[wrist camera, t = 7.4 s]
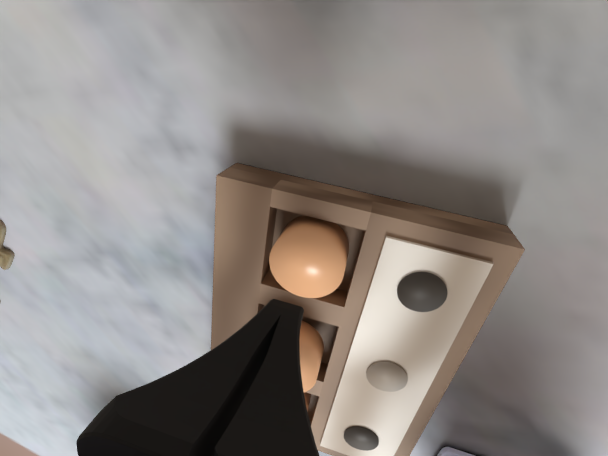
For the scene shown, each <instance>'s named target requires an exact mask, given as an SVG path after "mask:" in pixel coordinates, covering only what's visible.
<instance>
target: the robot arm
mask: <svg viewBox="0 0 608 456" xmlns="http://www.w3.org/2000/svg"><path fill="white" fill-rule="evenodd" d="M303 313H304V309H303V308H302V307H301V306H297V305H294V304H291V303H287V302H284V301H280V300H277V299H272V300H270V301H269V302H268V303H267V305H266V306H265V307H264V308H263V309H262V310H261V311H260V312H259V313H257V314H256V315H255V316H254V317H253V318H252V319H251V320H250V321H249V322H247V323H246V324H245V325H244V326H243V327H242V328H240V329H239V330H238V331H237V332H235V333H234V334H233V335H232V336H230V337H229V338H228V339H226V340H225V341H224V342H222V343H221V344H220V345H218V346H217V347H215V348H214V349H212V350H211V351H209V352H208V353H206V354H204V355H203V356H201V357H200V358H198V359H196V360H194V361H193V362H191V363H189V364H188V365H186V366H184V367H182V368H180V369H178V370H176V371H174V372H172V373H170V374H168V375H166V376H164V377H162V378H160V379H157V380H155V381H153V382H151V383H149V384H146V385H144V386H141V387H139V388H136V389H133V390H131V391H128V392H126V393H123V394H120V395H118V396H116V397H115V398H114V399H113V400H112V401H111V402H110V403H109V404H108V405H106V406H105V407H104V408H103V409H102V410H101V411H100V413H99V414H98V415H97V416H96V417H95V418H94V419H93V421H92V422H91V423H90V424H89V425H88V426H87V428H86V429H85V430H84V431H83V432H82V434H81V435H80V436H79V438H78V440H77V452H78V455H79V456H319V453H318V450H317V447H316V443H315V440H314V436H313V433H312V429H311V425H310V420H309V416H308V412H307V407H306V403H305V397H304V391H303V384H302V377H301V367H300V327H301V323H302V318H303ZM437 456H475V455H472V454H469V453H466V452H463V451H460V450H457V449H454V448H451V447H444V448H442V449H441V451H440V452H439V454H438V455H437Z"/></svg>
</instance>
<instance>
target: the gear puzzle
mask: <svg viewBox="0 0 608 456" xmlns="http://www.w3.org/2000/svg"><path fill="white" fill-rule="evenodd" d="M5 235H6V226H5V224H4V223H3V222H2V221H1V220H0V267H1V268H2V269H4V270H6V269H8V268H10V266H11V264H12V262H13V259H14V253H13V252H12V251H10V250H8V249H5V248H4V246H3V242H4V239H5ZM0 302H1V301H0Z"/></svg>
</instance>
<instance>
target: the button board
mask: <svg viewBox="0 0 608 456" xmlns="http://www.w3.org/2000/svg"><path fill="white" fill-rule="evenodd" d="M303 215H305V216H309V217H313V218H317V219H321V220H325V221H329V222H333V223H336V224H338V225H339V226H340V227H341V229H342V230H343V231H344V233H345V235H346V237H347V239H348V243H349V254H348V259H347V263H346V268H345V272H344V277H343V280H342V282H341V284H340V285H339V287H338V288H337V289H336V290H335V291H333V292H332V293H330V294H328V295H326V296H323V297H319V298H305V297H300V296H297V295H295V294H292V293H291V292H289V291H287V290H286V289H284V288H283V287H282V286H281V285H280V284H279V283H278V282H277V281H276V279H275V278H274V276H273V274H272V272H271V269H270V265H269V256H270V252H271V249H272V247H273V246H274V244H275V243H276V241H277V240H278V238H279V237H280V235H281V233H282V232H283V230H284V229H285V227H286V226H287V225H288V224H289V223H290V222H291V221H292V220H294V219H295V218H297V217H300V216H303ZM524 250H525V249H524V248H523V246H522V245H521V243H520V242H519V241H518V239H517V238H516V237H515V235H514V234H513V233H512V231H511V230H510V228H509V227H508V226H506V225H501V224H497V223H493V222H488V221H484V220H480V219H476V218H471V217H467V216H463V215H458V214H454V213H450V212H446V211H441V210H437V209H433V208H428V207H424V206H420V205H415V204H411V203H407V202H403V201H398V200H394V199H390V198H385V197H381V196H377V195H373V194H368V193H364V192H360V191H355V190H351V189H347V188H342V187H338V186H334V185H330V184H325V183H321V182H317V181H312V180H308V179H304V178H300V177H295V176H291V175H287V174H282V173H278V172H274V171H269V170H265V169H261V168H257V167H252V166H248V165H244V164H239V163H236V164H234V165H232V166H231V167H229V168H228V169H226V170H224V171H223V172H221V173H219V174H218V175H217V177H216V208H215V239H214V271H213V302H212V333H211V350H212V349H214V348H215V347H217V346H218V345H220V344H221V343H222V342H224V341H225V340H226V339H228V338H229V337H230V336H232V335H233V334H234V333H235V332H237V331H238V330H239V329H240V328H242V327H243V326H244V325H245V324H246V323H247V322H249V321H250V320H251V319H252V318H253V317H254V316H255V315H256V314H257V313H259V312H260V311H261V310H262V309H263V308H264V307H265V306H266V305H267V303H268V302H269V301H270V300H272V299H277V300H280V301H284V302H287V303H291V304H294V305H297V306H301V307H302V308H303V309H304V313H303V318H302V321H305V322H306V323H308V324H310V325H311V326H313V327H314V328H315V329H316V330H317V331H318V333H319V334H320V335H321V337H322V340H323V343H324V351H323V355H322V360H321V364H320V368H319V372H318V376H317V381H316V383H315V385H314V386H313V387H312V388H311V389H310V390H309V391H307V393H310V394H311V399H310V404H309V408H308V416H309V420H310V425H311V429H312V433H313V436H314V440H315V443H316V447H317V450H318V451H321V452H324V453H327V454H330V455H332V456H409V455H410V454H411V452H412V450H413V448H414V447H415V445H416V443H417V441H418V439H419V438H420V436H421V434H422V432H423V430H424V429H425V427H426V425H427V423H428V422H429V420H430V418H431V416H432V414H433V413H434V411H435V409H436V407H437V406H438V404H439V402H440V400H441V398H442V397H443V395H444V393H445V391H446V389H447V388H448V386H449V384H450V382H451V381H452V379H453V377H454V375H455V373H456V372H457V370H458V368H459V366H460V364H461V363H462V361H463V359H464V357H465V356H466V354H467V352H468V350H469V348H470V347H471V345H472V343H473V341H474V339H475V338H476V336H477V334H478V332H479V331H480V329H481V327H482V325H483V323H484V322H485V320H486V318H487V316H488V314H489V313H490V311H491V309H492V307H493V306H494V304H495V302H496V300H497V298H498V297H499V295H500V293H501V291H502V290H503V288H504V286H505V284H506V282H507V281H508V279H509V277H510V275H511V273H512V272H513V270H514V268H515V266H516V265H517V263H518V261H519V259H520V257H521V256H522V254H523V252H524Z"/></svg>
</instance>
